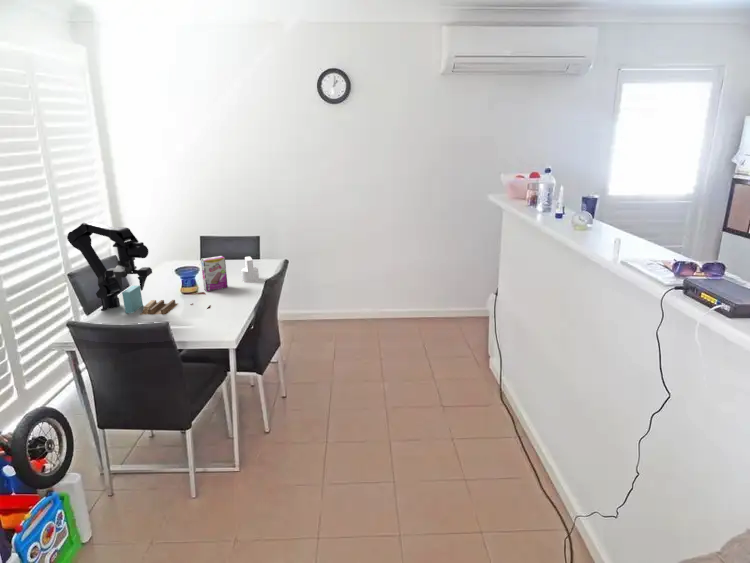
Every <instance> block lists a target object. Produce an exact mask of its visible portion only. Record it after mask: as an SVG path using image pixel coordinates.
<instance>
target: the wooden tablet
mask: <svg viewBox="0 0 750 563" xmlns="http://www.w3.org/2000/svg"><path fill="white" fill-rule="evenodd" d="M206 293H207V292H206V291H200V292H195V293H190V294H188V295H189V296H190V295H193V296H194V295H195V296H196V295H199V296H200V295H207V294H206ZM211 305H212V304H210V305H208V307H206V310H209V309H211V307H212V306H211ZM190 306H194V303H190Z"/></svg>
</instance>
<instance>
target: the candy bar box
mask: <svg viewBox="0 0 750 563" xmlns="http://www.w3.org/2000/svg"><path fill="white" fill-rule="evenodd" d="M200 264H201V272H202V283H203V289H204V290H205V292H212V291H216V290H223V289H228V288H227V287H228V276H227V275H228V274H227V265H226V264H227V263H226V258H225V256H223V255H217V256H212V257H211V256H210V257H204V258H201V259H200ZM222 288H223V289H222Z"/></svg>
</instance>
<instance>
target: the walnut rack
mask: <svg viewBox="0 0 750 563" xmlns="http://www.w3.org/2000/svg"><path fill="white" fill-rule="evenodd" d="M156 303H157V304H156V305H154V306H153V307H152V308H150V309H149V313H143V311H141V312H140V313H139V315H140V316H141V315H147V316H148V315H167V314H169V312H171V311H173V309H174V308H175V307H177V306H178V305H179V304H180V303H176V300H175V299H171V301H169V302H168V303H165V300H164V299H161V300H159V301H158V302H156Z"/></svg>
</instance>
